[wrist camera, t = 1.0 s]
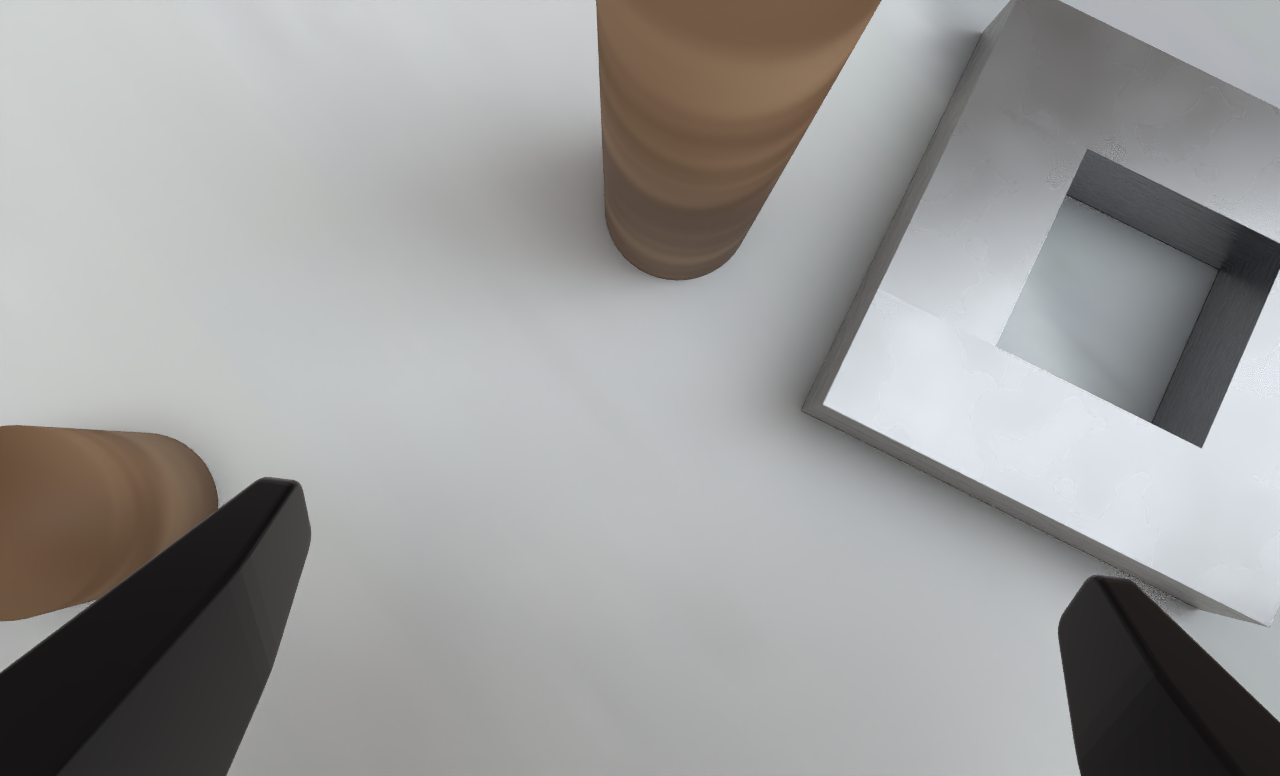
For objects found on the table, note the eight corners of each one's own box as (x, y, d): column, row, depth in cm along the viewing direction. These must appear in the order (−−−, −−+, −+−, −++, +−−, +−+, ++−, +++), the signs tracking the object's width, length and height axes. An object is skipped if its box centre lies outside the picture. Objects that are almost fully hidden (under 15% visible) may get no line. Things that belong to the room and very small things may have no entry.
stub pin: (161, 615, 23) (34, 658, 18) (33, 534, 23) (-130, 555, 18) (247, 483, 23) (147, 490, 18) (121, 404, 23) (-15, 388, 18)
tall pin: (701, 307, 24) (814, 105, 10) (577, 231, 24) (527, -68, 10) (776, 186, 24) (980, -162, 11) (653, 111, 24) (700, -328, 11)
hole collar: (1200, 609, 23) (1270, 627, 21) (800, 410, 24) (822, 404, 21) (1366, 220, 24) (1452, 193, 22) (983, 32, 25) (1024, -17, 22)
